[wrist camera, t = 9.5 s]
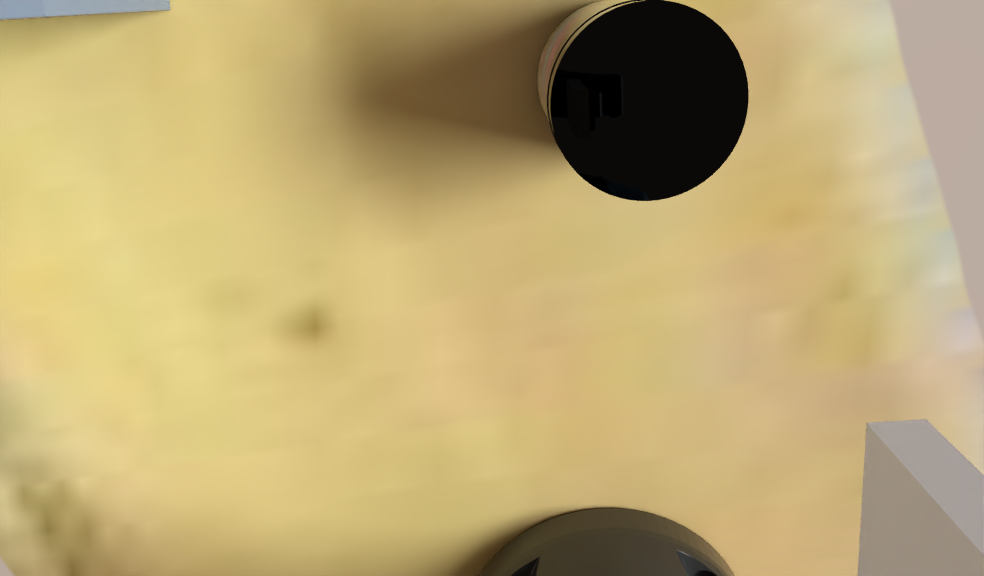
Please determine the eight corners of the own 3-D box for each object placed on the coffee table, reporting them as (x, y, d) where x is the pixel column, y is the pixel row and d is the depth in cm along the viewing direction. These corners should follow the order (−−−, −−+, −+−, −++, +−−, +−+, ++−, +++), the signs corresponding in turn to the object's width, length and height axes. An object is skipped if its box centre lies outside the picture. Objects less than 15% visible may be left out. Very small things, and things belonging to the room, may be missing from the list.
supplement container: (641, -34, 40) (690, -43, 30) (714, 102, 42) (784, 136, 32) (506, 51, 41) (511, 70, 31) (583, 180, 43) (611, 237, 33)
